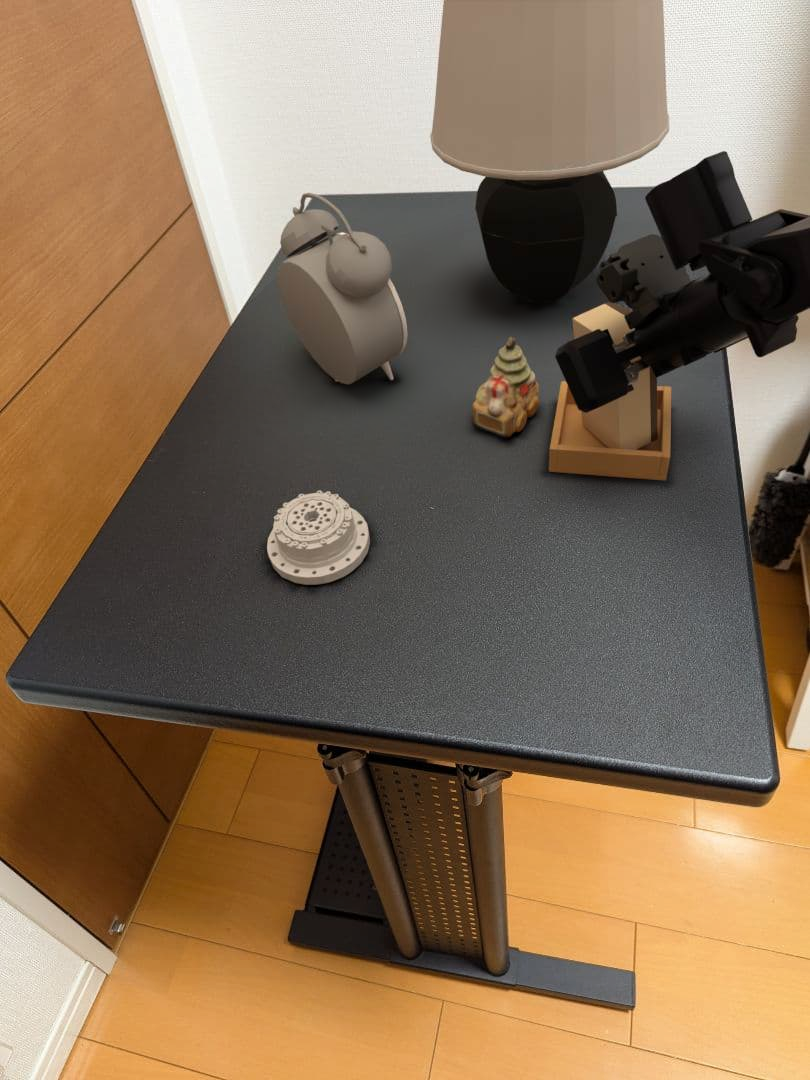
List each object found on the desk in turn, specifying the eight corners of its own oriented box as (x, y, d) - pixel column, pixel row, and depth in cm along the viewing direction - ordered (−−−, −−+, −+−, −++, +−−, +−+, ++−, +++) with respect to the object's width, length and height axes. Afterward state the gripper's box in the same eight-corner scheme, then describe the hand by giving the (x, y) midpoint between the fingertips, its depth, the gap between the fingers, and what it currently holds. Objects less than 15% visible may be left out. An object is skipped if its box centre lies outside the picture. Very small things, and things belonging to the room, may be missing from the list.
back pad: (617, 409, 84) (611, 300, 75) (658, 439, 79) (656, 326, 70) (582, 425, 83) (572, 317, 74) (620, 457, 78) (614, 345, 69)
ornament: (517, 446, 83) (517, 367, 76) (465, 433, 85) (460, 356, 78) (544, 404, 87) (546, 326, 80) (494, 393, 90) (492, 316, 82)
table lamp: (628, 362, 91) (680, -59, 62) (414, 338, 99) (373, -42, 71) (660, 254, 108) (713, -118, 79) (475, 241, 116) (461, -98, 87)
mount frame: (667, 409, 84) (671, 386, 82) (665, 480, 77) (670, 457, 75) (560, 403, 87) (561, 380, 85) (548, 471, 80) (549, 448, 77)
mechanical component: (299, 504, 80) (251, 573, 74) (289, 472, 77) (239, 542, 71) (386, 523, 77) (344, 597, 71) (380, 491, 74) (335, 565, 68)
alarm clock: (421, 386, 92) (401, 203, 76) (362, 418, 89) (329, 234, 73) (345, 334, 102) (313, 163, 86) (290, 361, 99) (246, 188, 83)
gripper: (756, 186, 64) (648, 263, 79) (574, 258, 59) (496, 325, 74) (808, 310, 64) (691, 363, 79) (633, 392, 59) (543, 431, 74)
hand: (607, 368), depth 77 cm, fingers closed on back pad, 5 cm apart
